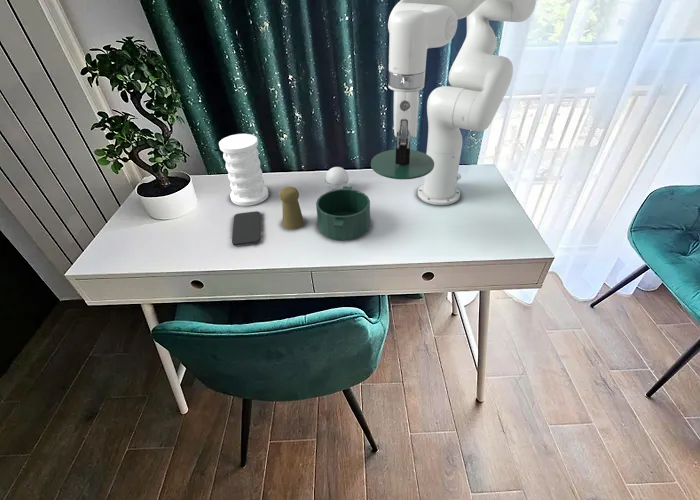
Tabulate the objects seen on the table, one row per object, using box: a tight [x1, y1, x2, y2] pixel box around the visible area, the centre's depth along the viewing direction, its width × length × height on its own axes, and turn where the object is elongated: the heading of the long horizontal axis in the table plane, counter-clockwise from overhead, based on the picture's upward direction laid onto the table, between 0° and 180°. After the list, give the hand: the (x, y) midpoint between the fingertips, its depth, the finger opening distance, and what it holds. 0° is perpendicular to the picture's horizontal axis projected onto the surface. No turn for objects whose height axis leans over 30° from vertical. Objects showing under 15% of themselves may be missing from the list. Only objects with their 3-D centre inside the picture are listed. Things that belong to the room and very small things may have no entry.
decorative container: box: [218, 133, 269, 207], centre depth 120 cm, size 12×12×18 cm
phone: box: [231, 210, 261, 247], centre depth 111 cm, size 7×1×15 cm
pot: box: [315, 185, 371, 242], centre depth 109 cm, size 14×20×8 cm
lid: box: [370, 145, 434, 180], centre depth 94 cm, size 15×15×6 cm
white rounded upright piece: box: [324, 166, 350, 191], centre depth 124 cm, size 10×7×7 cm
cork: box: [279, 185, 305, 230], centre depth 109 cm, size 6×6×11 cm
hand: (402, 159), depth 95 cm, fingers closed on lid, 2 cm apart
